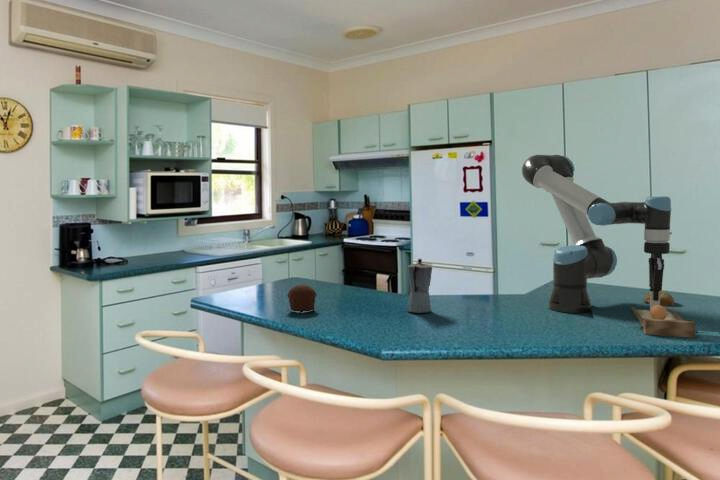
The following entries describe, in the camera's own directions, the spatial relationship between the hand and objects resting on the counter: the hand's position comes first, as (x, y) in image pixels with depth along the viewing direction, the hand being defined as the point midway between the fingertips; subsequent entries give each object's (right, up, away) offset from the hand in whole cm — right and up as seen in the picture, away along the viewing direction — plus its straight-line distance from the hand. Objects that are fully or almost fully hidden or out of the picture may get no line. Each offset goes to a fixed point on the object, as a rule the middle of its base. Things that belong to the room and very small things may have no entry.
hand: (654, 309), depth 172 cm
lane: (-3, -4, -9) cm, 10 cm away
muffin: (-125, -4, +21) cm, 127 cm away
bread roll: (+11, -1, +16) cm, 20 cm away
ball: (-5, +1, -11) cm, 12 cm away
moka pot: (-80, -3, +16) cm, 81 cm away
